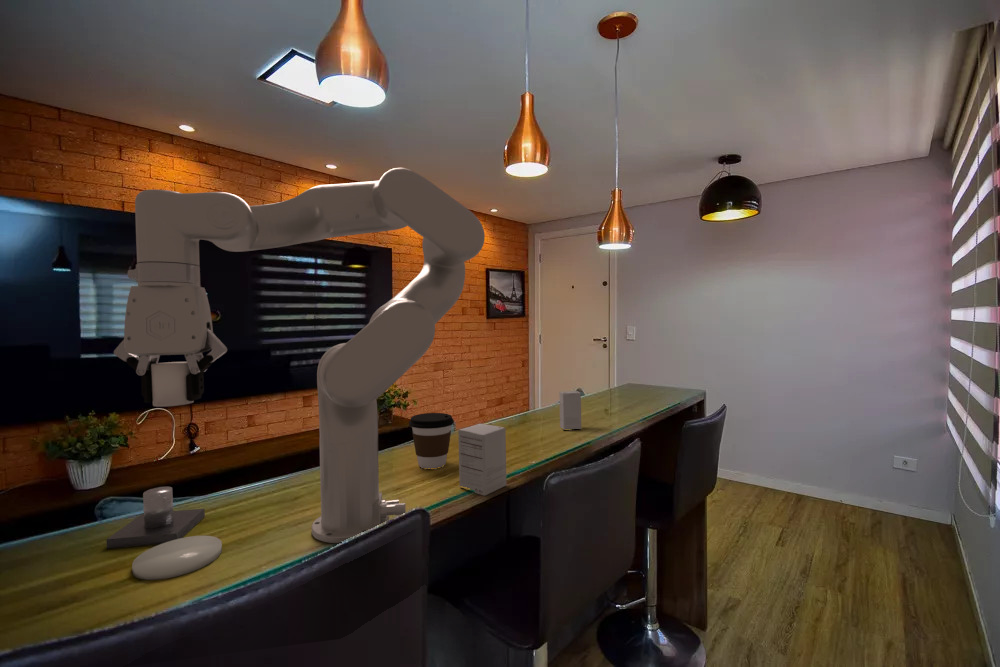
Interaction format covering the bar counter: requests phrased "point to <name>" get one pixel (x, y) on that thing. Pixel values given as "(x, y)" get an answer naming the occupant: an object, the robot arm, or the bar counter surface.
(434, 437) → the coffee cup
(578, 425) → the skincare box
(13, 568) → the bar counter surface
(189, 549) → the white domed disc
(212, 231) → the robot arm
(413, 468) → the bar counter surface
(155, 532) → the square base with cylinder
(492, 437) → the supplement box
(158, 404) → the cap
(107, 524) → the bar counter surface
